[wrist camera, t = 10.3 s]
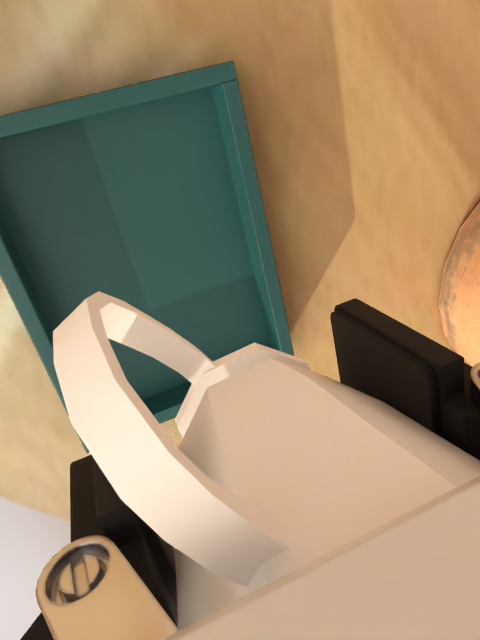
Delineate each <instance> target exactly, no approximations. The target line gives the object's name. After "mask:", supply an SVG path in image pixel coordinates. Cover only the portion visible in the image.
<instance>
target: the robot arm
mask: <svg viewBox="0 0 480 640" xmlns="http://www.w3.org/2000/svg"><path fill="white" fill-rule="evenodd" d="M334 311H335V312H332V313H331V316H330V317H331V325H332V331H333V337H334V343H335V350H336V356H337V362H338V369H339V375H340V381H341V383H342V384H344V385H346V386H349V387H351V388H353V389H355V390H358V391H360V392H362V393H365V394H367V395H369V396H371V397H374V398H376V399H378V400H380V401H383V402H385V403H386V404H388V405H389V406H391V407H393V408H394V409H396V410H398V411H399V412H401V413H402V414H404V415H406V416H407V417H409V418H411V419H412V420H414V421H415V422H417V423H419V424H420V425H422V426H424V427H425V428H427V429H429V430H430V431H432V432H433V433H435V434H437V435H438V436H440V437H442V438H443V439H445V440H446V441H448V442H450V443H451V444H453V445H455V446H456V447H458V448H460V449H461V450H463V451H464V452H466V453H468V454H470V455H471V456H473V457H475V458H476V459H478V460H480V362H479V363H477V364H475V365H474V366H473V367H471V366H469V365H468V364H466V363H464V357H462V356H460V355H459V354H457V353H455V352H453V351H451V350H449V349H448V348H446V347H444V346H442V345H440V344H439V343H437V342H435V341H433V340H431V339H429V338H428V337H426V336H424V335H422V334H420V333H418V332H417V331H415V330H413V329H411V328H409V327H407V326H406V325H404V324H402V323H400V322H398V321H396V320H395V319H393V318H391V317H389V316H387V315H386V314H384V313H382V312H380V311H378V310H376V309H375V308H373V307H371V306H369V305H367V304H365V303H364V302H362V301H360V300H358V299H352V300H349V301H347V302H344V303H341V304H339V305H336V307H335V310H334ZM70 508H71V543H70V544H68V545H67V546H65V547H64V548H62V549H61V550H60V551H59V552H58V553H57V554H55V555H54V556H53V557H52V559H51V560H50V561H49V562H48V563H47V565H46V566H45V567H44V569H43V571H42V573H41V575H40V577H39V579H38V582H37V587H36V597H37V602H38V605H39V607H40V609H41V611H42V612H41V614H40V615H39V616H38V617H37V619H36V620H35V621H34V623H33V624H32V625H31V627H30V628H29V629H28V631H27V632H26V633H25V634H24V636H23V637H22V638H21V640H480V476H479V477H477V478H475V479H473V480H471V481H469V482H467V483H465V484H463V485H461V486H459V487H457V488H455V489H453V490H451V491H449V492H447V493H445V494H443V495H441V496H439V497H437V498H435V499H433V500H431V501H429V502H427V503H425V504H423V505H421V506H419V507H417V508H415V509H413V510H411V511H409V512H407V513H405V514H403V515H401V516H399V517H397V518H395V519H393V520H391V521H389V522H388V523H386V524H384V525H382V526H380V527H378V528H376V529H374V530H372V531H370V532H368V533H366V534H364V535H362V536H360V537H358V538H356V539H354V540H352V541H350V542H348V543H346V544H344V545H342V546H340V547H338V548H336V549H334V550H333V551H331V552H329V553H327V554H325V555H323V556H321V557H319V558H317V559H315V560H313V561H311V562H309V563H307V564H305V565H303V566H301V567H299V568H298V569H296V570H294V571H292V572H290V573H288V574H286V575H284V576H282V577H280V578H278V579H276V580H274V581H272V582H270V583H268V584H266V585H265V586H263V587H261V588H259V589H257V590H255V591H253V592H251V593H249V594H247V595H245V596H243V597H241V598H239V599H237V600H235V601H233V602H232V603H230V604H228V605H226V606H224V607H222V608H220V609H218V610H216V611H214V612H212V613H211V614H209V615H207V616H205V617H203V618H201V619H199V620H198V621H196V622H194V623H192V624H190V625H188V626H186V627H184V628H183V629H181V630H179V629H178V612H177V588H176V566H175V550H174V547H173V546H172V545H170V544H169V543H167V542H166V541H164V540H163V539H162V538H161V537H160V536H159V535H158V534H157V533H156V532H155V531H154V530H153V529H152V528H151V527H150V526H149V525H147V524H146V523H145V522H144V521H143V520H142V519H141V518H140V517H139V516H138V515H137V514H136V513H135V512H134V511H133V510H132V509H131V508H130V507H128V506H127V505H126V504H125V503H124V502H123V501H122V500H121V499H120V497H119V496H118V494H117V493H116V491H115V490H114V488H113V487H112V485H111V484H110V482H109V481H108V479H107V477H106V476H105V474H104V473H103V471H102V470H101V468H100V467H99V465H98V464H97V462H96V461H95V459H94V458H93V456H92V455H89V456H87V457H85V458H82V459H80V460H77V461H75V462H72V463H71V465H70Z"/></svg>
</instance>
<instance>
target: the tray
mask: <svg viewBox="0 0 480 640" xmlns="http://www.w3.org/2000/svg"><path fill="white" fill-rule="evenodd" d="M0 276H1V278H2V280H3V282H4V284H5V286H6V288H7V290H8V293H9V295H10V297H11V299H12V301H13V303H14V305H15V307H16V309H17V311H18V313H19V315H20V317H21V319H22V321H23V323H24V325H25V327H26V330H27V332H28V334H29V336H30V338H31V340H32V342H33V344H34V346H35V348H36V350H37V352H38V354H39V356H40V358H41V360H42V362H43V365H44V367H45V369H46V371H47V373H48V375H49V377H50V379H51V381H52V383H53V385H54V387H55V389H56V391H57V393H58V395H59V397H60V399H61V402H62V404H63V406H64V408H65V410H66V412H67V414H68V411H67V408H66V404H65V401H64V397H63V394H62V391H61V387H60V384H59V380H58V377H57V373H56V370H55V367H54V355H53V331H54V330H55V329H56V328H57V327H58V326H59V325H60V324H61V323H62V322H63V321H64V320H65V319H66V318H67V317H68V316H69V315H70V314H71V313H72V312H73V311H74V310H75V309H76V308H77V307H78V306H79V305H80V304H81V303H82V302H83V301H84V300H85V299H86V298H88V297H90V296H91V295H93V294H95V293H97V292H98V291H99V292H102V293H104V294H107V295H110V296H112V297H115V298H117V299H120V300H122V301H124V302H126V303H128V304H130V305H131V306H133V307H135V308H136V309H138V310H140V311H142V312H143V313H145V314H147V315H149V316H150V317H152V318H153V319H155V320H157V321H158V322H160V323H162V324H163V325H165V326H167V327H168V328H170V329H171V330H173V331H174V332H176V333H177V334H178V335H180V336H181V337H183V338H184V339H185V340H187V341H188V342H190V343H191V344H193V345H194V346H195V347H196V348H198V349H199V350H200V351H201V352H202V353H203V354H204V355H206V356H207V357H208V358H209V359H210V360H211V361H215V360H218V359H220V358H222V357H224V356H226V355H228V354H231V353H233V352H235V351H237V350H239V349H242V348H244V347H246V346H248V345H250V344H252V343H257V344H260V345H263V346H266V347H269V348H272V349H275V350H278V351H281V352H284V353H286V354H289V355H292V356H294V352H293V348H292V343H291V338H290V333H289V328H288V323H287V318H286V314H285V309H284V304H283V299H282V294H281V289H280V284H279V280H278V275H277V270H276V265H275V260H274V255H273V251H272V246H271V241H270V236H269V231H268V226H267V221H266V217H265V212H264V207H263V202H262V197H261V192H260V188H259V183H258V178H257V173H256V168H255V163H254V158H253V154H252V149H251V144H250V139H249V134H248V129H247V124H246V120H245V115H244V110H243V105H242V100H241V95H240V91H239V86H238V81H237V76H236V71H235V66H234V62H233V61H229V62H225V63H221V64H217V65H213V66H208V67H204V68H200V69H196V70H191V71H187V72H183V73H179V74H175V75H170V76H166V77H162V78H158V79H154V80H149V81H145V82H141V83H137V84H132V85H128V86H124V87H120V88H116V89H111V90H107V91H103V92H99V93H95V94H90V95H86V96H82V97H78V98H73V99H69V100H65V101H61V102H57V103H52V104H48V105H44V106H40V107H35V108H31V109H27V110H23V111H19V112H14V113H10V114H6V115H2V116H0ZM108 340H109V342H110V344H111V347H112V349H113V351H114V353H115V355H116V358H117V360H118V362H119V364H120V366H121V368H122V371H123V373H124V375H125V377H126V379H127V381H128V382H129V384H130V385H131V386H132V388H133V389H134V390H135V392H136V393H137V394H138V396H139V397H140V398H141V400H142V401H143V402H144V404H145V405H146V406H147V408H148V409H149V410H150V412H151V413H152V414H153V416H154V417H155V418H156V420H157V421H158V422H159V424H160V423H163V422H165V421H168V420H170V419H173V418H175V417H176V416H177V414H178V412H179V410H180V408H181V405H182V403H183V401H184V399H185V397H186V395H187V393H188V391H189V388H190V386H191V384H192V383H191V382H190V381H188V380H187V379H186V378H185V377H184V376H182V375H181V374H180V373H179V372H177V371H175V370H174V369H172V368H170V367H168V366H167V365H165V364H163V363H162V362H160V361H158V360H157V359H155V358H153V357H151V356H149V355H146V354H144V353H142V352H140V351H137V350H135V349H133V348H131V347H128V346H126V345H124V344H121V343H119V342H116V341H114V340H111V339H109V338H108ZM68 416H69V415H68ZM77 434H78V433H77ZM78 436H79V435H78ZM79 439H80V441H81V442H82V445H83V447H84V449H85V451H86V453H88V452H89V450H88V448H87V447H86V445H85V444H84V442H83V441H82V439H81V438H80V436H79Z"/></svg>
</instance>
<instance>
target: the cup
mask: <svg viewBox="0 0 480 640" xmlns="http://www.w3.org/2000/svg"><path fill="white" fill-rule="evenodd" d="M108 338H109V339H111V340H114V341H116V342H119V343H121V344H124V345H126V346H128V347H131V348H133V349H135V350H137V351H140V352H142V353H144V354H146V355H149V356H151V357H153V358H155V359H157V360H158V361H160V362H162V363H163V364H165V365H167V366H168V367H170V368H172V369H174V370H175V371H177V372H179V373H180V374H181V375H182V376H184V377H185V378H186V379H187V380H188V381H190V382H191V383H192V384H191V386H190V388H189V391H188V393H187V395H186V397H185V399H184V401H183V403H182V405H181V408H180V410H179V412H178V414H177V416H176V418H175V422H176V425H177V428H178V430H179V432H180V434H181V436H182V438H183V439H182V441H181V443H180V445H179V449H178V448H177V446H176V445H175V444H174V442H173V441H172V440H171V438H170V437H169V436H168V434H167V433H166V432H165V430H164V429H163V428H162V426H161V425H160V424H159V422H158V421H157V420H156V418H155V417H154V416H153V414H152V413H151V412H150V410H149V409H148V408H147V406H146V405H145V404H144V402H143V401H142V400H141V398H140V397H139V396H138V394H137V393H136V392H135V390H134V389H133V388H132V386H131V385H130V384H129V382H128V381H127V379H126V377H125V375H124V373H123V371H122V368H121V366H120V364H119V362H118V360H117V358H116V355H115V353H114V351H113V349H112V347H111V344H110V342H109V340H108ZM53 355H54V367H55V370H56V373H57V377H58V380H59V384H60V387H61V391H62V394H63V397H64V401H65V404H66V408H67V411H68V415H69V418H70V422H71V424H72V426H73V427H74V429H75V430H76V432H77V433H78V435H79V436H80V438H81V439H82V441H83V442H84V444H85V445H86V447H87V448H88V450H89V452H90V453H91V455H92V456H93V458H94V459H95V461H96V462H97V464H98V465H99V467H100V468H101V470H102V471H103V473H104V474H105V476H106V477H107V479H108V481H109V482H110V484H111V485H112V487H113V488H114V490H115V491H116V493H117V494H118V496H119V497H120V499H121V500H122V501H123V502H124V503H125V504H126V505H127V506H128V507H130V508H131V509H132V510H133V511H134V512H135V513H136V514H137V515H138V516H139V517H140V518H141V519H142V520H143V521H144V522H145V523H146V524H147V525H149V526H150V527H151V528H152V529H153V530H154V531H155V532H156V533H157V534H158V535H159V536H160V537H161V538H162V539H163V540H164V541H166V542H167V543H169V544H170V545H172V546H173V547H175V566H176V588H177V612H178V629H179V630H181V629H183V628H184V627H186V626H188V625H190V624H192V623H194V622H196V621H198V620H199V619H201V618H203V617H205V616H207V615H209V614H211V613H212V612H214V611H216V610H218V609H220V608H222V607H224V606H226V605H228V604H230V603H232V602H233V601H235V600H237V599H239V598H241V597H243V596H245V595H247V594H249V593H251V592H253V591H255V590H257V589H259V588H261V587H263V586H265V585H266V584H268V583H270V582H272V581H274V580H276V579H278V578H280V577H282V576H284V575H286V574H288V573H290V572H292V571H294V570H296V569H298V568H299V567H301V566H303V565H305V564H307V563H309V562H311V561H313V560H315V559H317V558H319V557H321V556H323V555H325V554H327V553H329V552H331V551H333V550H334V549H336V548H338V547H340V546H342V545H344V544H346V543H348V542H350V541H352V540H354V539H356V538H358V537H360V536H362V535H364V534H366V533H368V532H370V531H372V530H374V529H376V528H378V527H380V526H382V525H384V524H386V523H388V522H389V521H391V520H393V519H395V518H397V517H399V516H401V515H403V514H405V513H407V512H409V511H411V510H413V509H415V508H417V507H419V506H421V505H423V504H425V503H427V502H429V501H431V500H433V499H435V498H437V497H439V496H441V495H443V494H445V493H447V492H449V491H451V490H453V489H455V488H457V487H459V486H461V485H463V484H465V483H467V482H469V481H471V480H473V479H475V478H477V477H479V476H480V460H478V459H476V458H475V457H473V456H471V455H470V454H468V453H466V452H464V451H463V450H461V449H460V448H458V447H456V446H455V445H453V444H451V443H450V442H448V441H446V440H445V439H443V438H442V437H440V436H438V435H437V434H435V433H433V432H432V431H430V430H429V429H427V428H425V427H424V426H422V425H420V424H419V423H417V422H415V421H414V420H412V419H411V418H409V417H407V416H406V415H404V414H402V413H401V412H399V411H398V410H396V409H394V408H393V407H391V406H389V405H388V404H386V403H385V402H383V401H380V400H378V399H376V398H374V397H371V396H369V395H367V394H365V393H362V392H360V391H358V390H355V389H353V388H351V387H349V386H346V385H344V384H342V383H340V382H337V381H335V380H333V379H331V378H328V377H326V376H324V375H321V374H318V373H315V372H312V371H310V369H309V365H308V364H307V363H306V362H305V361H304V360H303V359H301V358H298V357H295V356H292V355H289V354H286V353H284V352H281V351H278V350H275V349H272V348H269V347H266V346H263V345H260V344H257V343H252V344H250V345H248V346H246V347H244V348H242V349H239V350H237V351H235V352H233V353H231V354H228V355H226V356H224V357H222V358H220V359H218V360H215V361H211V360H210V359H209V358H208V357H207V356H206V355H204V354H203V353H202V352H201V351H200V350H199V349H198V348H196V347H195V346H194V345H193V344H191V343H190V342H188V341H187V340H185V339H184V338H183V337H181V336H180V335H178V334H177V333H176V332H174V331H173V330H171V329H170V328H168V327H167V326H165V325H163V324H162V323H160V322H158V321H157V320H155V319H153V318H152V317H150V316H149V315H147V314H145V313H143V312H142V311H140V310H138V309H136V308H135V307H133V306H131V305H130V304H128V303H126V302H124V301H122V300H120V299H117V298H115V297H112V296H110V295H107V294H104V293H102V292H99V291H98V292H97V293H95V294H93V295H91V296H90V297H88V298H86V299H85V300H84V301H83V302H82V303H81V304H80V305H79V306H78V307H77V308H76V309H75V310H74V311H73V312H72V313H71V314H70V315H69V316H68V317H67V318H66V319H65V320H64V321H63V322H62V323H61V324H60V325H59V326H58V327H57V328H56V329H55V330H54V331H53Z"/></svg>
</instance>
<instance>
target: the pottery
mask: <svg viewBox="0 0 480 640" xmlns="http://www.w3.org/2000/svg"><path fill="white" fill-rule="evenodd" d="M439 310H440V315H441V320H442V325H443V330H444V335H445V337H446V339H447V340H448V341H449V343H450V344H451V346H452V347H453V348H454V350H455V351H456V352H457V354H459V355H460V356H462V357H464V360H466V361H467V362H468V363H470V364H471V365H472V366H474V365H475V364H477V363H479V362H480V202H479V203H478V205H477V206H476V207H475V209H474V210H473V211H472V213H471V214H470V215H469V217H468V218H467V219H466V221H465V222H464V223H463V225H462V226H461V227H460V229H459V231H458V233H457V236H456V238H455V241H454V243H453V245H452V248H451V250H450V253H449V255H448V257H447V260H446V262H445V265H444V267H443V274H442V282H441V289H440V297H439Z"/></svg>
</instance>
